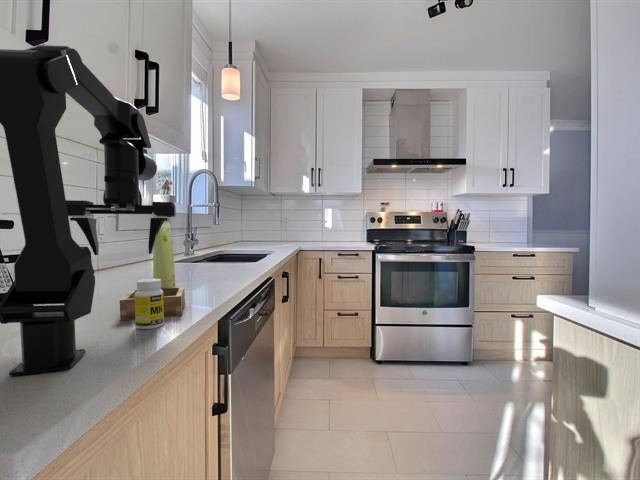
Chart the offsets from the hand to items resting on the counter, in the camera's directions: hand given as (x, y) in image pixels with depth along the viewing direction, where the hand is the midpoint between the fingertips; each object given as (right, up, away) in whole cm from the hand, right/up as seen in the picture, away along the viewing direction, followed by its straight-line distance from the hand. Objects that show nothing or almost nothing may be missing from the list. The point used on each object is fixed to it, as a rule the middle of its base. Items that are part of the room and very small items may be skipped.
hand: (124, 254), depth 68 cm
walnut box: (+3, -12, +7) cm, 14 cm away
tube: (+1, -12, +16) cm, 20 cm away
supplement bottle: (+7, -13, -4) cm, 15 cm away
